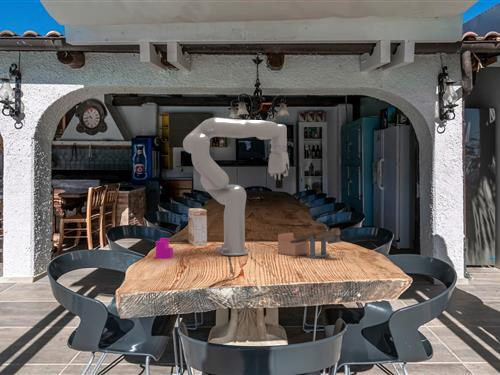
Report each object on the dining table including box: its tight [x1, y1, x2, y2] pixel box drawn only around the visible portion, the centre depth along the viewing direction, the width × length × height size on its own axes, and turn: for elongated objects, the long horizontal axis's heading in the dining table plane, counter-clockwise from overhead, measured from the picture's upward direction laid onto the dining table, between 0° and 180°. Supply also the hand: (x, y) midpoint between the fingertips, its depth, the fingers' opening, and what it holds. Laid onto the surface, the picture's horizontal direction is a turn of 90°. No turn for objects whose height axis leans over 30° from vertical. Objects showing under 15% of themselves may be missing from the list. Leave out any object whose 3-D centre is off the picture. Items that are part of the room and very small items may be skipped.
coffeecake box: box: [187, 207, 208, 247], centre depth 244 cm, size 15×7×20 cm, turn 17°
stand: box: [305, 236, 331, 260], centre depth 206 cm, size 10×5×10 cm, turn 134°
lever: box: [290, 227, 342, 244], centre depth 204 cm, size 13×20×6 cm, turn 44°
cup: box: [277, 232, 310, 257], centre depth 217 cm, size 10×10×9 cm
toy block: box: [155, 237, 174, 260], centre depth 213 cm, size 15×6×8 cm, turn 3°
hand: (279, 188), depth 228 cm, fingers closed
